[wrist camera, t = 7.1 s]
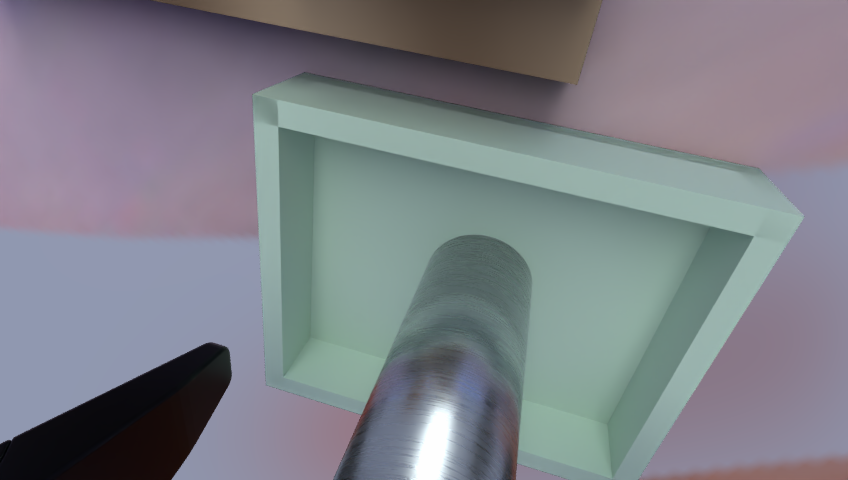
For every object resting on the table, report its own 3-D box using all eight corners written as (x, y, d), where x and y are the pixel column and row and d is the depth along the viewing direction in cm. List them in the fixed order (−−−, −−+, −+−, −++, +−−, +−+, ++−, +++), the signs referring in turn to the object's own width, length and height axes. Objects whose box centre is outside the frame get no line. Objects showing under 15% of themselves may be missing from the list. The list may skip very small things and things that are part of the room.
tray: (758, 168, 11) (804, 216, 9) (618, 426, 16) (626, 497, 14) (304, 72, 13) (252, 94, 10) (301, 334, 17) (266, 385, 15)
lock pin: (559, 243, 13) (558, 650, 5) (525, 344, 14) (488, 751, 7) (425, 210, 13) (246, 540, 6) (409, 313, 15) (259, 662, 7)
